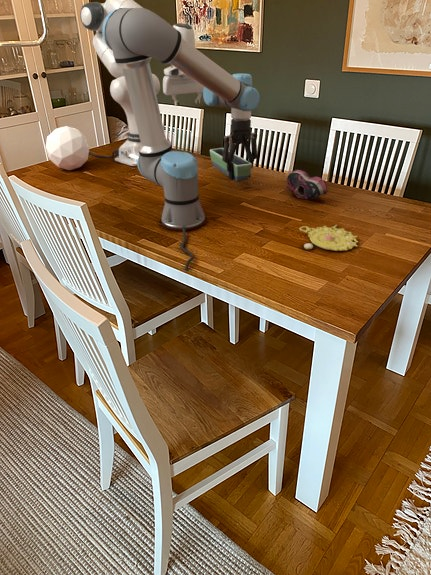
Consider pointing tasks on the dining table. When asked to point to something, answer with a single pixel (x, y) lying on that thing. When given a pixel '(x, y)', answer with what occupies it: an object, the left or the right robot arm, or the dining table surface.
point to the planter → (239, 165)
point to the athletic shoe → (306, 185)
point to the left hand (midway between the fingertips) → (187, 104)
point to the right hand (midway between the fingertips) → (239, 177)
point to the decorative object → (330, 238)
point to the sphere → (67, 148)
